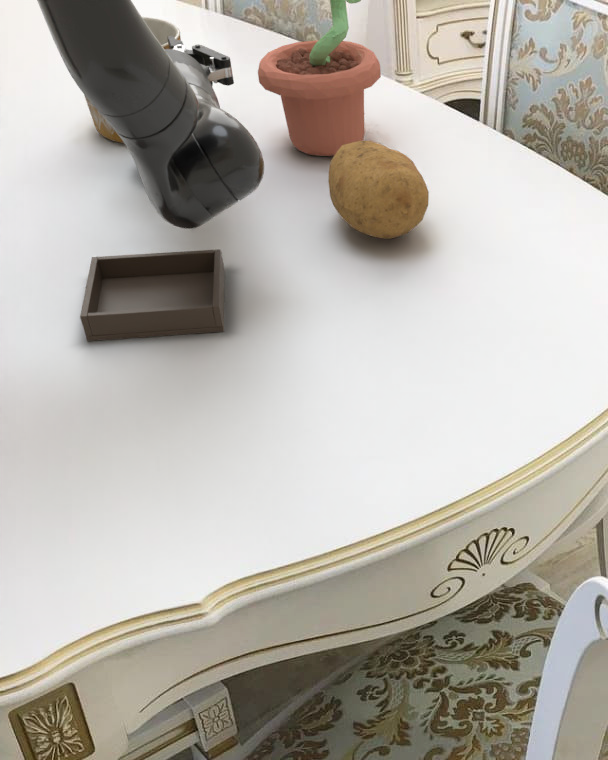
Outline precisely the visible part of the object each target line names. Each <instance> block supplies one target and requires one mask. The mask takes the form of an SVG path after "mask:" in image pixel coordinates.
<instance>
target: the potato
mask: <svg viewBox="0 0 608 760" xmlns="http://www.w3.org/2000/svg"><path fill="white" fill-rule="evenodd" d="M328 190H329V197H330V200H331V203H332V205H333V207H334V208H335V210H336V212H337V213H338V214H339V216H340V217H341V218H342V220H344V221H345V222H346V223H347V224H348V225H349V226H350V227H352V228H353V230H355V231H357V232H359V233H361V234H364V235H367V236H371V237H373V238H378V239H384V240H385V239H386V240H391V239H395V238H398V237H401V236H405V235H406V234H408V233H410V232H411V231H412V230H414V229H415V228H416V227H417V226H418V225H419V224H420V223H421V222H422V221H423V220H424V217H425V214H426V212H427V209H428V207H429V199H430V197H429V193H430V191H429V190H428V186H427V184H426V182H425V180H424V177H423V175H422V174H421V172H420V171H419V169H418V167H417V166H416V165H415V163H414V161H413V160H412V159H410V158H409V156H407V154H404V153H402V152H400V151H399V150H396V149H392V148H390V147H387V146H385V145H383V144H381V143H378V142H375V141H371V140H363V141H356V142H352V143H349V144H345V145H342V146H341V147H340V149H339V150H338V151H337V152H336V154H335V155H334V156H333V157H332V158H331V159H330V163H329V167H328Z"/></svg>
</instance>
